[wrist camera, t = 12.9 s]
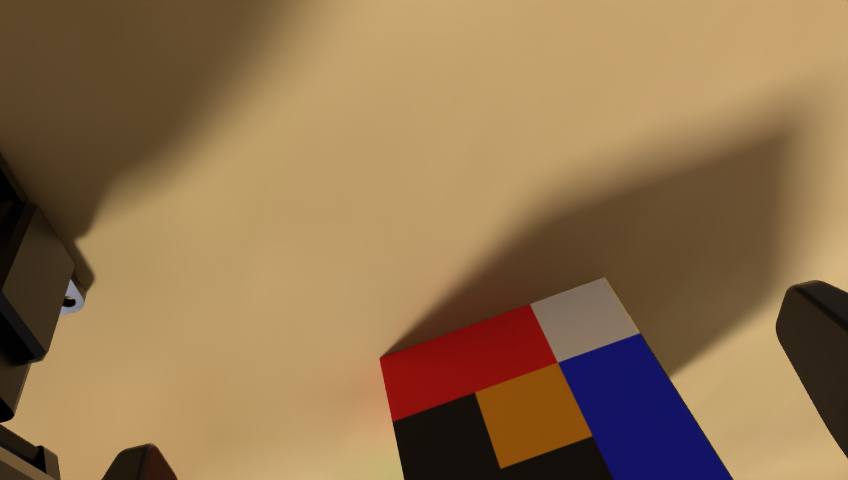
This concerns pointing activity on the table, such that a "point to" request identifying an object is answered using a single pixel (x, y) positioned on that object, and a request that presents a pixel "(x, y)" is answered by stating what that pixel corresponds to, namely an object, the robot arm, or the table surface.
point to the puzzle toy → (544, 399)
